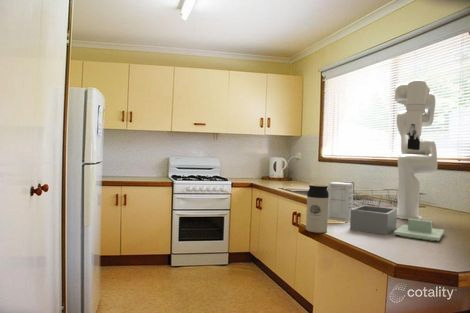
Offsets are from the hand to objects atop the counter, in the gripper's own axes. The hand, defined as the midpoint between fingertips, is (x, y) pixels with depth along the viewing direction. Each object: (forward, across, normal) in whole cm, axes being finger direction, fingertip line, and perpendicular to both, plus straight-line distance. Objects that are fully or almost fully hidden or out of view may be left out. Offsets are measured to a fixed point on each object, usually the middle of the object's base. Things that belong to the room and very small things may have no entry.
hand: (413, 149), depth 162 cm
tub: (+33, +17, -11) cm, 39 cm away
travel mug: (+34, +39, -27) cm, 58 cm away
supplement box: (+34, +5, -29) cm, 45 cm away
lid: (+34, +17, +6) cm, 38 cm away
